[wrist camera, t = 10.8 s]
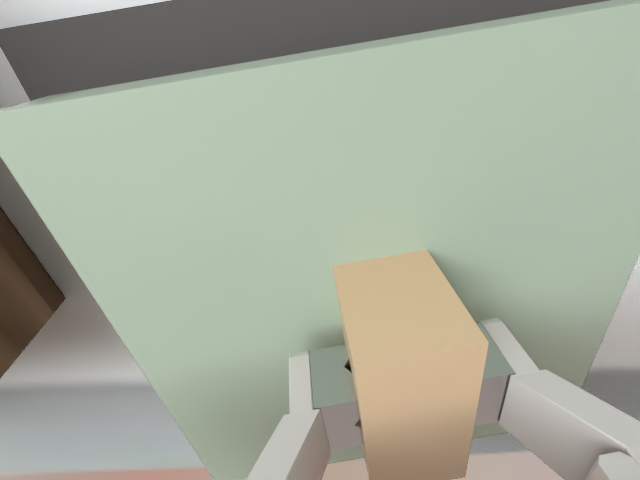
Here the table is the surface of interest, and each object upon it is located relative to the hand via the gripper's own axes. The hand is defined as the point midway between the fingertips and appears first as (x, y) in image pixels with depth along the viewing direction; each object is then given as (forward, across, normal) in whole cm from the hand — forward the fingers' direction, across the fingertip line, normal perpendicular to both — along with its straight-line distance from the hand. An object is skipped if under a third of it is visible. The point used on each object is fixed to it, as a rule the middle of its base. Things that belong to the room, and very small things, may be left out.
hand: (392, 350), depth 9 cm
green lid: (+3, 0, 0) cm, 3 cm away
